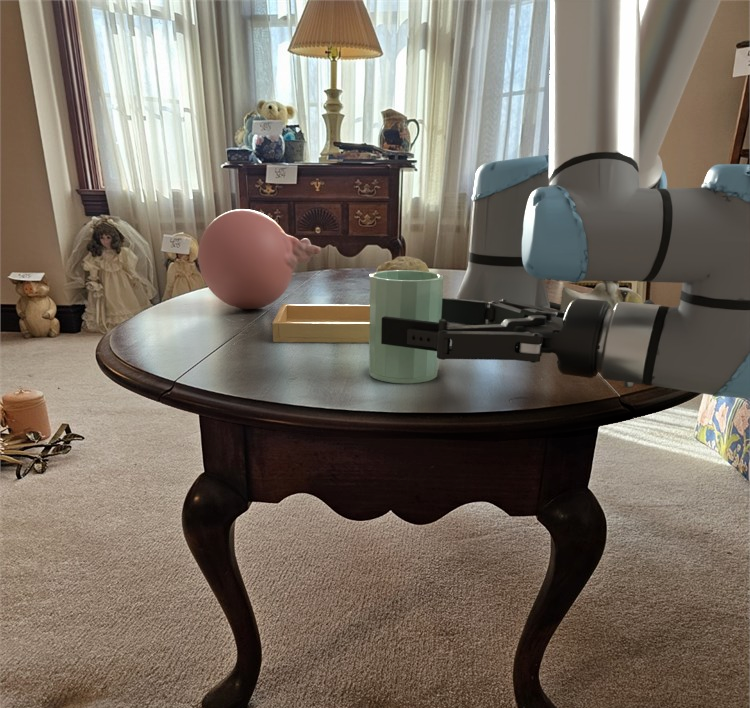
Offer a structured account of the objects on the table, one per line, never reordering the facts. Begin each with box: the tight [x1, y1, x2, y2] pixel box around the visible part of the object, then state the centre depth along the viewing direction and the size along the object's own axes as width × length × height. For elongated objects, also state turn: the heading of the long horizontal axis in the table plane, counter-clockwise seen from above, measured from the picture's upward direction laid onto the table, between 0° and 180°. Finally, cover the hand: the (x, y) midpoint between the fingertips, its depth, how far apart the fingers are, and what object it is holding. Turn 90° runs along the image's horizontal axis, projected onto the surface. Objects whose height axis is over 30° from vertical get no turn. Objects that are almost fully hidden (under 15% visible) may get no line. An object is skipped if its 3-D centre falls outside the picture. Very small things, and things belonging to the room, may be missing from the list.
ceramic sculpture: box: [560, 281, 644, 311], centre depth 91 cm, size 11×9×15 cm
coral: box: [376, 255, 430, 272], centre depth 115 cm, size 9×9×8 cm
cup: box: [368, 270, 445, 384], centre depth 74 cm, size 8×8×11 cm
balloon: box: [197, 208, 322, 310], centre depth 107 cm, size 15×20×15 cm
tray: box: [271, 304, 370, 344], centre depth 95 cm, size 18×14×3 cm
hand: (409, 318), depth 73 cm, fingers open, 13 cm apart
